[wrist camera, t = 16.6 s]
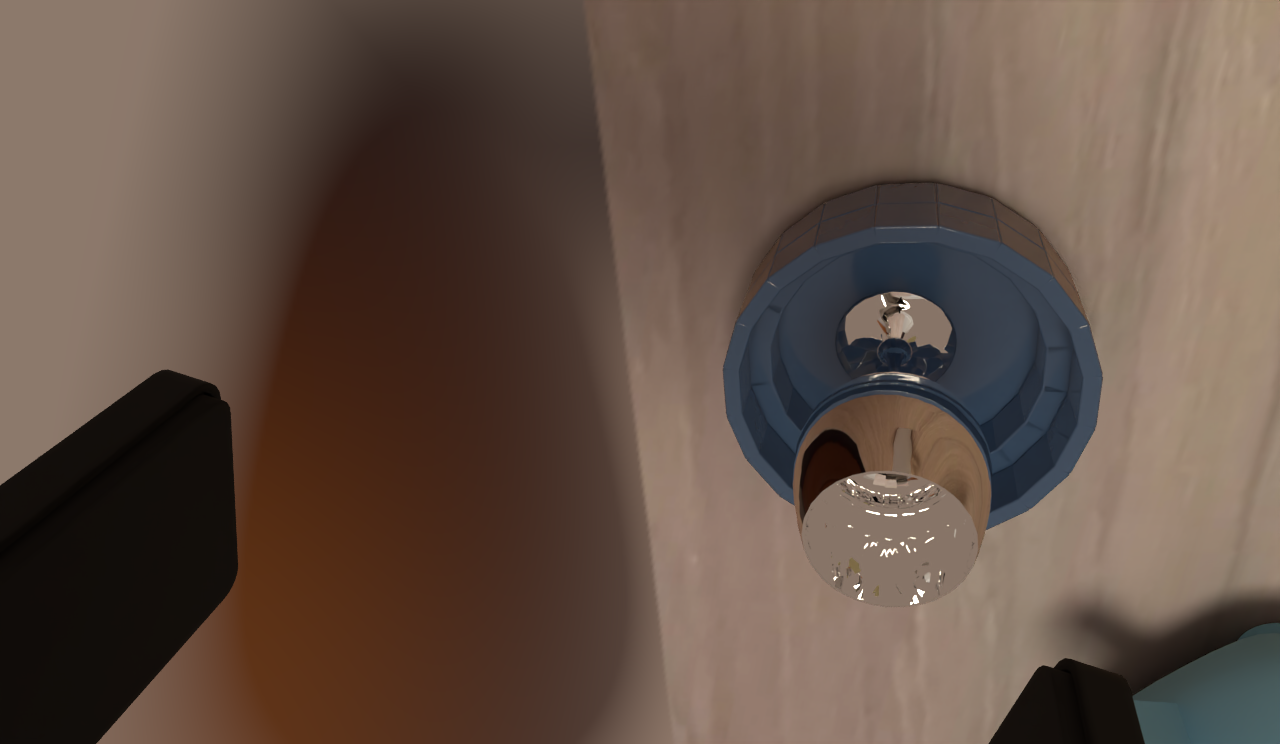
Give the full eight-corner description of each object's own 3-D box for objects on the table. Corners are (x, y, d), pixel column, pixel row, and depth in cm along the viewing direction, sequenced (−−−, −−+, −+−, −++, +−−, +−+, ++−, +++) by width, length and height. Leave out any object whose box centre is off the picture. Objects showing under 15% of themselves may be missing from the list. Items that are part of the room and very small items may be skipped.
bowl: (713, 414, 40) (690, 481, 35) (793, 137, 33) (776, 180, 29) (999, 502, 38) (1009, 583, 34) (1139, 231, 32) (1174, 290, 28)
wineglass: (1008, 353, 34) (1048, 564, 24) (883, 433, 37) (871, 651, 27) (908, 241, 33) (906, 413, 23) (787, 332, 36) (738, 520, 26)
